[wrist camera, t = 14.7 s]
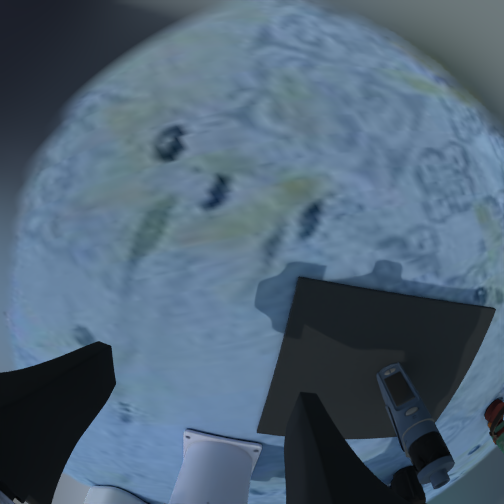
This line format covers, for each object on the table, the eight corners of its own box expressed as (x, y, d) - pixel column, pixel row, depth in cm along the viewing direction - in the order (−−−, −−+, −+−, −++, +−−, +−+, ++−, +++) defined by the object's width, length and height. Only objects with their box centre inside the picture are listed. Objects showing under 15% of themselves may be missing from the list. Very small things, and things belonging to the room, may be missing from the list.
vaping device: (400, 355, 19) (463, 465, 7) (408, 393, 20) (455, 491, 8) (372, 369, 19) (421, 488, 7) (383, 406, 20) (421, 508, 8)
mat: (426, 430, 21) (427, 432, 21) (256, 430, 22) (256, 432, 22) (493, 307, 17) (496, 309, 17) (298, 276, 18) (298, 278, 18)
